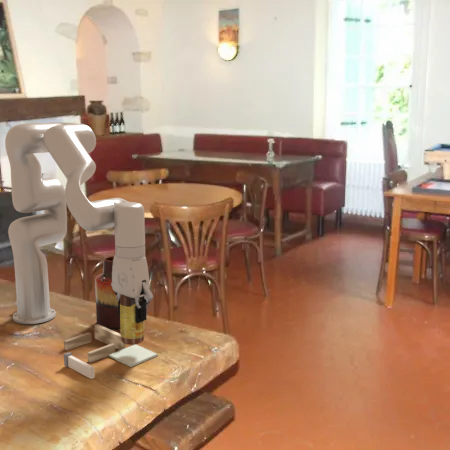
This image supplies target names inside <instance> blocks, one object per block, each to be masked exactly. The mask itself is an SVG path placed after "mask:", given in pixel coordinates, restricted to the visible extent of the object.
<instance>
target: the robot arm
mask: <svg viewBox="0 0 450 450" xmlns="http://www.w3.org/2000/svg"><path fill="white" fill-rule="evenodd" d="M4 146H5V147H4V148H5V152H6V156H7V158H8V162H9V166H10V184H11V185H10V186H11V198H12V199H11V200H12V205H13V208H14V210H16V211H17V212H19V213H23V214H27V213H37V212H42V211H43V212H44V213H42V214H33V215H30V216H29V215H28V216H23V217H19V218H17V219H15V220H14V221H12V222H11V223H10V224H9V227H8V231H7V233H8V238H9V242H10V246H11V250H12V255H13V267H14V277H15V278H14V279H15V292H16V301H15V302H14V305H15V306H16V308H17V311H15V312H14V313H13V314H12V320H13V321H14V322H15V323H17V324H20V325H21V324H22V325H37V324H43V323H46V322H49V321H51V320H52V319H54V318H55V317H56V315H57V313H56V310H55V309H54V308H52V307H51V305H50V304H51V303H50V301H51V300H50V287H49V270H48V261H47V257H46V256H45V254H44V253H43V252H42V251H41V249H40V247H44V246H48V245H52V244H55V243H59V242H62V241H63V240H64V239H65V238H66V236H67V232H68V216H67V215H68V213H67V210H68V211H69V212H70V213H71V215H72V217H73V219H74V220H75V222H76V223H77V224H78V226H79V227H81V228H82V229H83V230H85V231H88V232H98V231H102V230H107V229H111V228H114V248H115V252H114V253H115V254H114V259H113V267H112V283H111V285H112V289H113V290H114V292H115V294H116V296H117V297H116V299H117V301H118V315H119V316H120V294H122V295H125V296H127V297H130V298H135V302H136V305H137V307H136V308H135V321H136V322H137V323H139V322H142V321H144V322H145V321H146V320H147V306H148V305H149V303H150V302H151V301H152V299H153V298H154V295H153V293H152V291H151V289H150V274H149V268H148V267H149V266H148V262H147V261H148V260H147V258H146V226H145V225H146V223H145V218H146V217H145V207H144V205H143V204H142V203H140V202H135V201H128V200H126V199H124V198H121V197H112V198H105V199H97V200H92V201H90V200H89V199H88V197H87V196H86V194H85V193H84V191H83V189H82V185H83V184H84V183H86V182H87V181H88V180H90V179H91V178H92V177H93V175H94V174H95V172H96V169H97V164H96V162H95V161H94V160H93V159H92V157H91V156H90V153H92V152H93V151H94V150H95V148H96V146H97V138H96V134H95V132H94V131H93V130H92V128H91V127H90V126H88V125H87V124H85V123H73V122H61V121H60V122H59V121H58V122H51V121H50V122H28V123H20V124H15V125H14V126H12V127H10V129H8V131H7V132H6V134H5V141H4ZM40 153H41V154H45V153H49V154H50V156H51V157H52V159H53V161H54V162H55V163H56V165H57V167H58V168H59V169H60V171H61V172H62V175H64V177H65V178H66V184H65V188H64V185H63V184H62V182H61V181H60V180H58V179H57V178H54V177H46V178H45V177H44V178H42V167H41V163H40V161H39V160H38V158H37V156H36V155H35V154H40ZM67 208H68V209H67ZM140 293H141V295H140ZM140 297H142V301H141V302H140V300H139V298H140Z"/></svg>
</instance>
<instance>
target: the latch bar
mask: <svg viewBox="0 0 450 450" xmlns="http://www.w3.org/2000/svg"><path fill="white" fill-rule="evenodd" d="M63 363H64V367H66V368H70V369H72V370H73V371H75V372H77V373H79V374H81V375H83V376H85V377H87V378H88V379H90V380H92V379H95V378H96V376H95V366H93V365H91V364H89V363H87V362H85V361H84V360H82V359H79V358H78V357H75V356H74V355H73V353H72V352H70V351H68V352H65V353H63Z"/></svg>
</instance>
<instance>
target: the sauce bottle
mask: <svg viewBox="0 0 450 450" xmlns="http://www.w3.org/2000/svg"><path fill="white" fill-rule="evenodd" d="M140 295H141V293H140ZM139 300H140V302H141V301H142V297H140V298H139ZM136 307H137V305H136V302H135V298H130V297H127V296H125V295H122V294H120V329H119V330H120V332H119V334H121V341H122V343H124V344H125V345H131V346H132V345H135V344H136V345H138V344H141V343H142V342H144V341H145V333H146V332H145V321H142V322H139V323H137V322H136V321H135V308H136Z"/></svg>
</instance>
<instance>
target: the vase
mask: <svg viewBox="0 0 450 450" xmlns="http://www.w3.org/2000/svg"><path fill="white" fill-rule="evenodd" d="M113 259H114V256H113V255H111V256H107V257H106V256H105V258H103V264H102V265H103V266H102V267H103V268H102V273H100V274H98V275H96V277H95V278H94V280H95V281H94V284H95V285H94V286H95V311H96V312H95V313H96V325H97V324H99V325H101V326H103V327H106V328H108V329H110V330H113V331H118V330H120V316H119V315H118V301H117V299H116V297H117V296H116V294H115V292H114V290H113V289H112V285H111V283H112V267H113Z"/></svg>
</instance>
